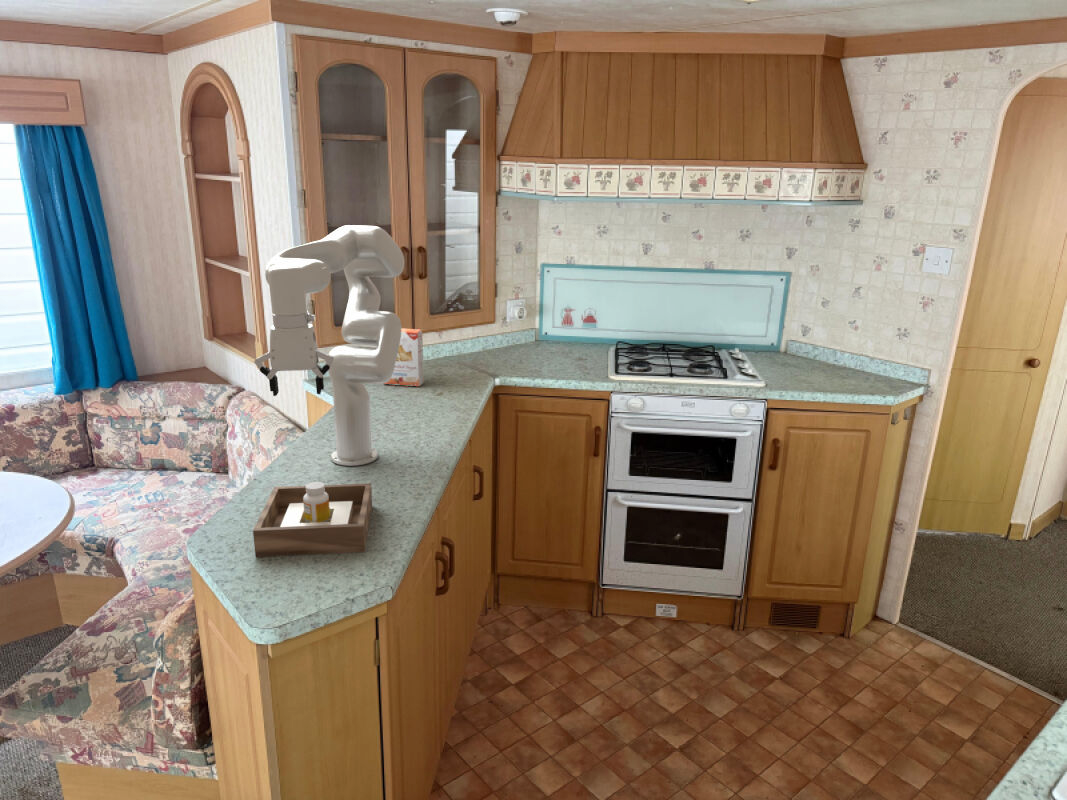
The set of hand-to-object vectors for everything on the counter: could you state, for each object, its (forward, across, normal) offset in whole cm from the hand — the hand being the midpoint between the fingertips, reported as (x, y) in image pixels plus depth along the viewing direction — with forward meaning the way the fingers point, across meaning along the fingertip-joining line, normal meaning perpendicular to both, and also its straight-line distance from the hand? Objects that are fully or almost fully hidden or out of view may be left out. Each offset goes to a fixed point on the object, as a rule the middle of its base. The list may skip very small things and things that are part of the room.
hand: (297, 393), depth 172 cm
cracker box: (+31, -22, -98) cm, 106 cm away
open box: (+26, -4, +17) cm, 32 cm away
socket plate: (+26, -4, +17) cm, 32 cm away
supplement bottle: (+26, -4, +17) cm, 31 cm away
